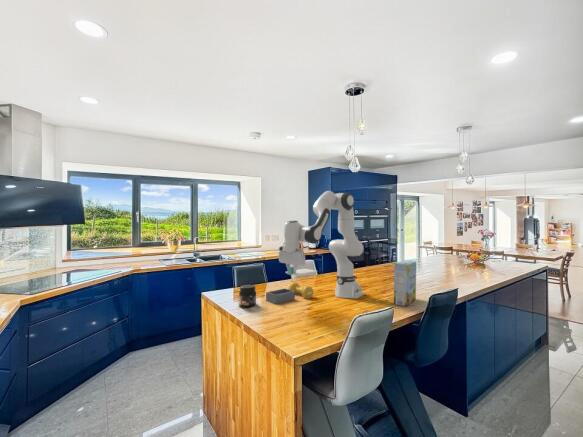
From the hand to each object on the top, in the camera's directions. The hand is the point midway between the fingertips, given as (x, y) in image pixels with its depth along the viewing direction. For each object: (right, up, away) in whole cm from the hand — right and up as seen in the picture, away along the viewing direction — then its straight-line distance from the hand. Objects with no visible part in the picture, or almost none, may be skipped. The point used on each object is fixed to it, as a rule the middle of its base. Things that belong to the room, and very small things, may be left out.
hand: (291, 271), depth 169 cm
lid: (+6, -1, +5) cm, 8 cm away
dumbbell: (+6, -23, +31) cm, 39 cm away
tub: (-7, -23, +19) cm, 30 cm away
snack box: (+73, -23, +16) cm, 79 cm away
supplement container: (-27, -23, +8) cm, 36 cm away
